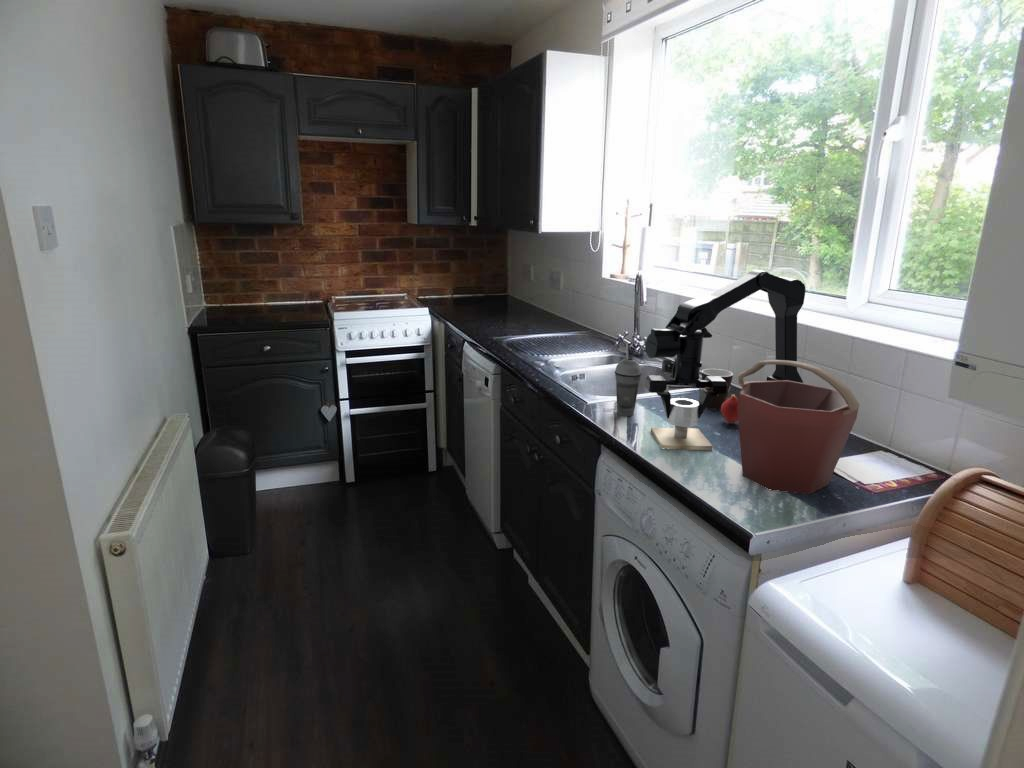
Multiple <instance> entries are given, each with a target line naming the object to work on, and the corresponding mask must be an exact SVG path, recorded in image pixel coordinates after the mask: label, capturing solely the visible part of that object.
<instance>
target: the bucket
mask: <svg viewBox="0 0 1024 768" xmlns="http://www.w3.org/2000/svg"><path fill="white" fill-rule="evenodd" d="M776 364H780V365H790V366H794V367H797V368H798V369H802V370H804V371H805V370H806V371H808V372H812V374H813V375H816V376H818V377H819V378H821V380H823V381H825V382H826V383H828V384H829V385H830V386H832V387H833V388H831V387H827V386H826V387H825V386H821V385H815V384H810V383H804V382H803V383H800V382H795V381H789V380H775V381H767V380H754V381H746V379H744V378H746V377H748V376H751V375H753V374H755V373H758V372H759V371H760V370H761V369H763V368H764V367H765V366H766V365H767V366H768V365H776ZM737 379H738V385H740V387H741V389H740V391H739V393H738V398H737V399H738V406H737V409H738V421H737V422H738V431H739V432H738V433H739V443H740V446H739V447H740V456H741V466H742V467H741V468H742V469H741V470H742V476H743V477H745V478H747V479H748V480H750V481H752V482H754V483H755V482H756V484H757V483H758V485H759V484H760V486H761V485H762V486H761V487H763V486H764V487H763V488H765V487H766V488H768V489H771V490H770V491H773V490H779V491H778V492H781V491H788V492H787V493H790V492H796V493H795V494H798V493H805V494H804V495H806V494H809V495H811V494H813V493H815V492H817V491H819V490H822V489H823V487H824V488H826V487H828V485H829V484H830V483H829V482H830V480H831V478H832V476H833V474H834V471H835V469H836V467H837V465H838V462H839V460H840V459H841V458H840V457H841V455H842V453H843V450H844V448H845V445H846V443H847V441H848V439H849V436H850V434H851V431H852V429H853V427H854V425H855V423H856V421H857V418H858V413H859V408H860V403H859V401H858V399H856V396H855V395H854V393H853V392H852V390H851V388H849V387H848V386H847V385H846V384H844V383H843V382H842V381H841V380H840V379H839V378H837V377H836V376H834V375H833V374H831V373H830V372H828V371H826V370H824V368H822V367H819V366H816V365H812V364H809V363H805V362H802V361H798V360H797V361H788V360H776V359H769V360H759V361H757V362H756V363H755V364H754V365H752V366H751V367H750V368H748V369H746V370H745V371H741V372H740V374H738V378H737ZM825 486H826V487H825ZM766 488H765V489H766ZM768 489H767V490H768ZM818 489H819V490H818ZM816 490H817V491H816ZM814 491H815V492H814ZM810 493H811V494H810Z"/></svg>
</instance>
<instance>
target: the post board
mask: <svg viewBox="0 0 1024 768" xmlns="http://www.w3.org/2000/svg"><path fill="white" fill-rule="evenodd" d="M650 433H651V434H652V436H653V435H654V436H653V438H654V439H655V440H657V441H656V442H657V444H658V443H659V444H658V445H660V446H661V447H660V446H659V447H660V449H661V448H669V449H668V450H692V451H693V450H694V451H696V450H699V451H712V450H713V445H712V443H711V442H710V441H709V440H708V439H707V438H706V436H705V435H704V434H703V432H701V430H700V429H699V428H695V427H693V428H692V427H680V426H675V425H674V427H650Z"/></svg>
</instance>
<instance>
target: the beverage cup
mask: <svg viewBox="0 0 1024 768" xmlns="http://www.w3.org/2000/svg"><path fill="white" fill-rule="evenodd" d="M625 351H626V352H625V358H623V359H622V360H620V361H619V362H618V363H617V365H616V366H615V371H614V376H615V383H616V384H615V385H616V386H615V387H616V413H617V415H619V414H620V416H623V415H625V416H624V417H631V416H634V412H635V410H636V409H635V408H636V403H637V397H638V391H639V386H640V382H641V377H642V369H641V366H640V363H639V362H638V361H637V360H636V359H634V358H631V357H629V343H628V341H625ZM630 415H631V416H630Z"/></svg>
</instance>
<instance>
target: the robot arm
mask: <svg viewBox="0 0 1024 768" xmlns="http://www.w3.org/2000/svg"><path fill="white" fill-rule="evenodd" d="M758 291H762V292H764V293H766V294H767V299H768V303H769V305H770V308H771V309H772V312H773V313H774V316H775V317H774V318H775V319H774V320H775V321H774V322H775V323H774V324H775V325H774V328H775V332H774V333H775V335H774V336H775V337H774V338H775V360H788V361H797V362H798V314H799V312H801V311H800V310H801V309H802V307H803V306H804V304H805V298H806V297H805V296H806V285H805V283H804V282H803V281H802V280H799V279H795V278H791V277H790V278H789V277H786V276H785V277H784V276H776V275H774V274H772V273H769V272H767V271H765V270H759V269H753V270H751V271H749V272H748V273H747V274H746V275H744V276H742V277H740V278H738V279H736V280H735V281H733V282H731V283H729V284H727V285H726V286H723V287H722V288H720V289H717V290H716V291H715V292H712V293H711V294H709V295H708V294H707V295H705V296H702V297H696V298H692V299H690V300H687V301H684V302H682V303H680V304H679V305H678V306H677V310H676V313H675V314H674V315H673V317H672V318H671V319H670V320H669V322H668V323H667V324H666V326H665V328H651V330H650V334H648V335H647V338H646V340H645V343H644V345H645V347H644V348H645V353H646V355H647V357H648V358H650V359H660V358H661V359H662V358H674V362H672V360H671V359H662V364H661V373H663V374H664V373H665V374H668V377H669V378H671V379H665V378H664V376H663V375H651V374H649V375H647V376H646V377H645V379H644V387H645V388H646V389H647V391H648V392H649V393H653V394H654V393H655V394H656V395H657V396H658V397H660V399H661V401H662V404H663V409H664V414H665V416H666V419H667V418H669V416H670V403H671V399H672V397H671V396H672V394H671V392H670V391H669V390H670V389H698V390H699V391H698V393H699V396H698V401H697V402H698V403H699V404H700V405H699V415H698V420H699V419H700V418H701V416H702V414H703V413H704V412H705V410H706V409H707V408H706V407H707V405H708V404H709V403H710V401H711V400H712V399H713V398H714V397H717V396H718V394H717V393H728V383H727V382H726V381H725V380H724V379H723V378H721V377H720V376H706V378H705V380H702V379H700V371H701V368H702V367H703V362H702V354H703V353H702V352H703V344H704V339H706V338H707V339H708V338H710V339H711V338H712V337H713V334H712V333H710V332H709V330H708V329H707V326H709V325H710V324H711V323H713V322H714V321H715V320H716V318H717V317H718V315H719V314H720V313H721V312H723V311H724V310H726V309H728V308H730V307H731V306H733V305H735V304H737V303H739V302H740V301H742V300H744V299H746V298H748V297H750V296H752V295H754V294H755V293H757V292H758ZM775 380H789V381H795V382H800V383H804V381H803V378H802V376H801V375H800V373H799V370H798V367H794V366H790V365H780V364H775V370H774V372H772V375H768V376H766V381H775Z"/></svg>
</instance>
